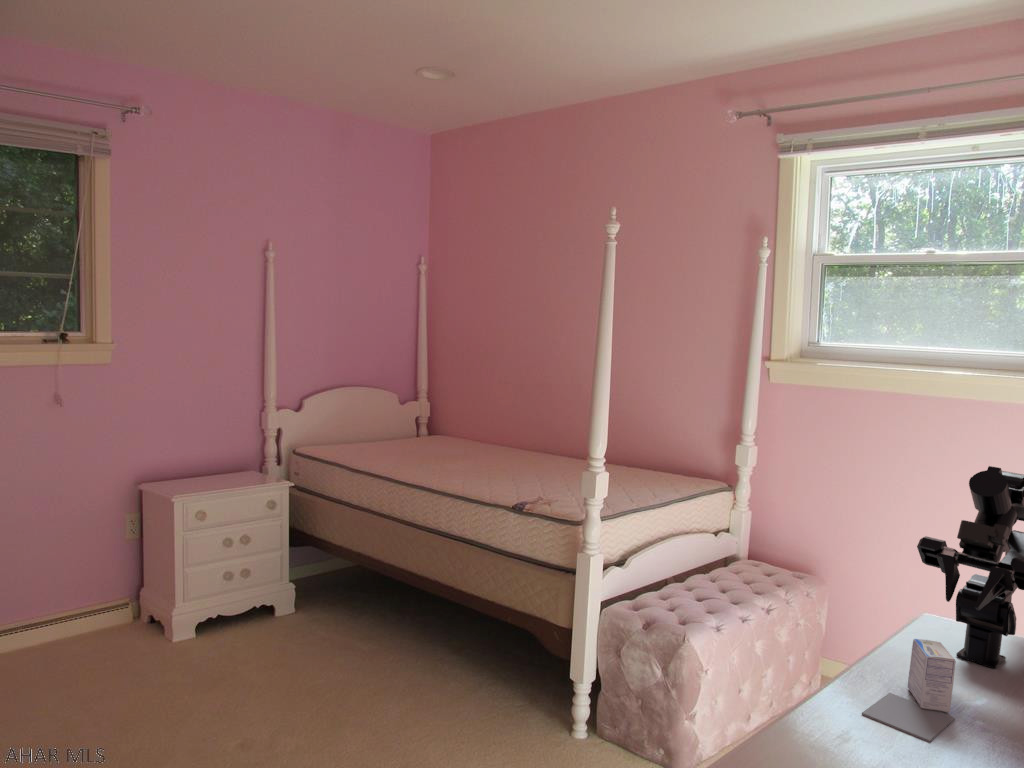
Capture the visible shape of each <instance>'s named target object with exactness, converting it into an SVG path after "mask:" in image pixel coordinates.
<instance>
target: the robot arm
mask: <svg viewBox="0 0 1024 768" xmlns="http://www.w3.org/2000/svg"><path fill="white" fill-rule="evenodd" d="M968 486H969V490H970V493H971V497H972V501H973V506H974V508H975V510H976V511H978V512H977V514H976V516H975V520H974V521H971V520H964V519H963V520H962V519H961V522H960V525H959V528H958V533H957V537H956V538H957V539H959V540H960V541H959V543H958V545H959V548H960V549H962V551H958V550H957V549H955V548H952V547H949V546H948V544H947V541H946V540H943V539H938V538H935V537H930V536H927V535H926V536H923V537H922V538H920V539H919V541H918V543H917V544H916V548H917V550H918V553H919V557H920V559H921V561H922V563H923V564H924V565H926V566H929V567H930V566H931V567H934V568H937V569H940V571H941V573H943V574H944V575H945V579H944V580H945V601H946V602H948V603H950V602H951V600H952V598H953V596H954V594H955V592H956V591H955V590H956V588H957V585H958V581H959V579H960V578H961V577H960V576H961V574H960V571H959V566H960V565H963V566H967V567H970V568H975V569H979V570H983V571H986V572H989V573H988V575H987V576H986V575H982V574H977V573H975V574H973V575H971V577H970V579H968V581H965V585H964V586H963V587H962V588H960V589H959V590H958V592H957V594H956V598H955V621H956V622H957V623H963V624H965V625H966V629H965V637H964V646H963V648H962V649H960V650H959V651H958V652H956V657H958V658H960V659H964V660H967V661H970V662H974V663H976V664H979V665H982V666H986V667H988V668H991V669H996V668H998V667H999V666H1000V665H1001V664H1002V663H1003V662H1004V661H1006V656H1005V655H1002V654H1000V653H1001V649H1002V641H1003V639H1002V638H1003V636H1005V637H1008V636H1015V635H1016V631H1017V615H1016V612H1015V608H1014V604H1013V602H1012V596H1013V594H1014V593H1015V592H1016V591H1017V589H1018V590H1021V591H1024V531H1019V530H1015V529H1014V530H1013V527H1014V526H1015V524H1016V523H1017V522H1018V521H1021V522H1024V474H1023V473H1016V472H1011V471H1005V470H1002V468H1001V467H997V466H992V465H989V466H988V467H987V470H982V471H979V472H977V473H975V474H973V475H972V476H971V477H970V478H969V480H968ZM1003 553H1004V556H1003V558H1002V555H1003Z"/></svg>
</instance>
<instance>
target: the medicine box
mask: <svg viewBox="0 0 1024 768" xmlns="http://www.w3.org/2000/svg"><path fill="white" fill-rule="evenodd" d="M956 663H957V661H956V659H955V657H953V656H952V654H951V653H950V652H949V650H948V649H947V648H946V647H945V646H944V645H943V644H942V643H941V642H940V641H937V640H928V639H923V638H914V639H913V640H912V646H911V655H910V664H909V671H908V679H907V680H908V681H907V688H908V690H909V691H910V693H911V694H912V695H913V697H914V700H916V703H918V704H919V705H920V707H921V708H923V709H928V710H935V711H939V712H942V713H946V714H947V713H950V712H951V707H952V706H951V705H952V698H953V697H952V696H953V691H954V690H953V689H954V680H955V672H956V671H955V670H956Z"/></svg>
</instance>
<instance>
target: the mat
mask: <svg viewBox="0 0 1024 768" xmlns="http://www.w3.org/2000/svg"><path fill="white" fill-rule="evenodd" d="M861 715H862V716H865V717H867V718H869V719H871V720H874V721H877V722H879V723H881V724H884V725H886V726H888V727H891V728H894V729H896V730H898V731H901V732H904V733H906V734H908V735H911V736H913V737H916V738H918V739H921V740H923V741H925V742H928V743H931V742H932V741H933V740H934V739H935V738H936V737H937V736H939V734H941V732H943V731H944V730H945V729H946V728H948V727H949V725H951V724H952V723H953V722H954V721H955V720H956V716H955V717H954V716H952V715H950V714H947V713H946V712H942V711H935V710H928V709H923V708H921V707H920V705H919V704H918V702H917V701H916V702H915V701H914V700H910V699H907V698H905V697H902V696H901V695H898V694H895V693H892V692H887V694H886V695H884V696H883V697H882V698H880V699H879V700H877V701H876V702H875V703H873V704H872V705H870V706H869V707H868V708H866V709H865V710H864V711H862V712H861Z"/></svg>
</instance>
